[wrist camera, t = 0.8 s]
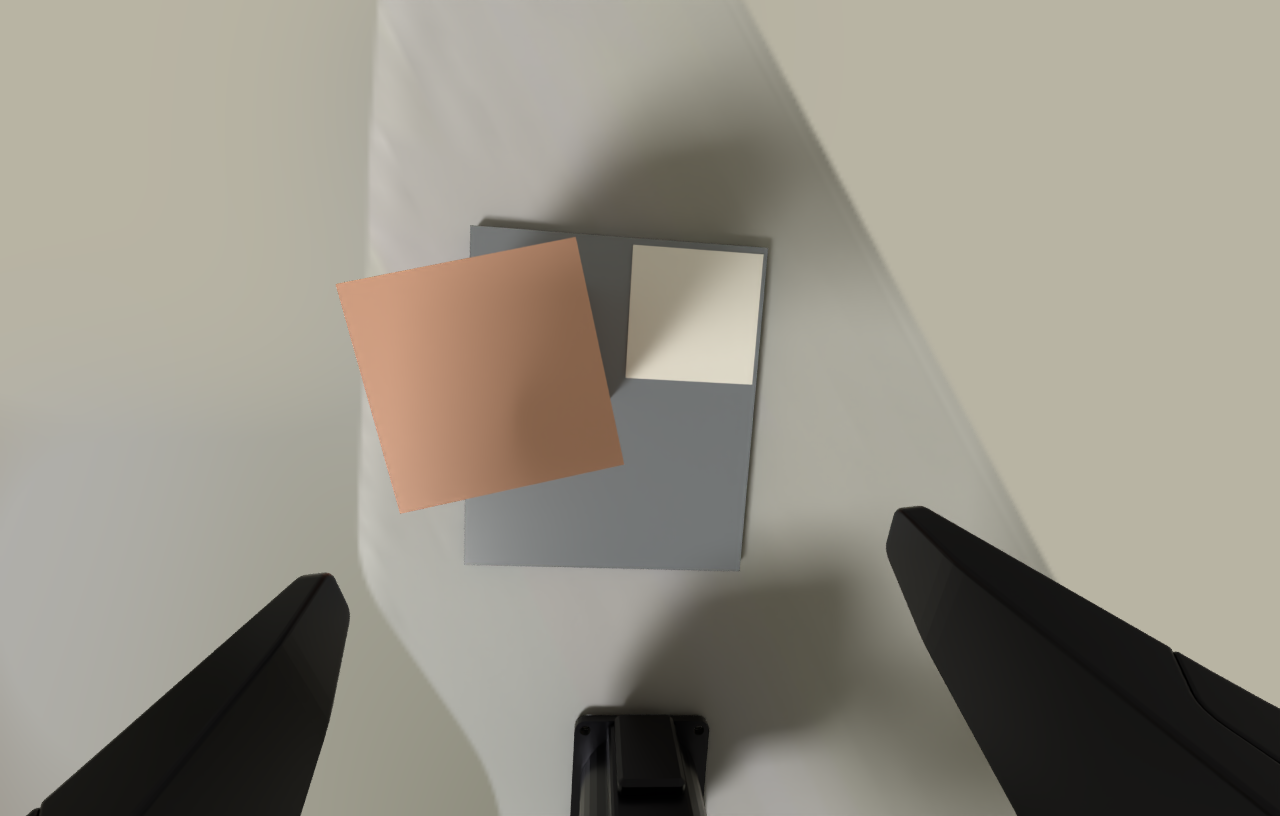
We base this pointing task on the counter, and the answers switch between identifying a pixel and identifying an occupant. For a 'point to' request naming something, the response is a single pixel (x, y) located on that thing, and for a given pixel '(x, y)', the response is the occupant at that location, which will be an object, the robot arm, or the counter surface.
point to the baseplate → (647, 413)
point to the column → (483, 373)
